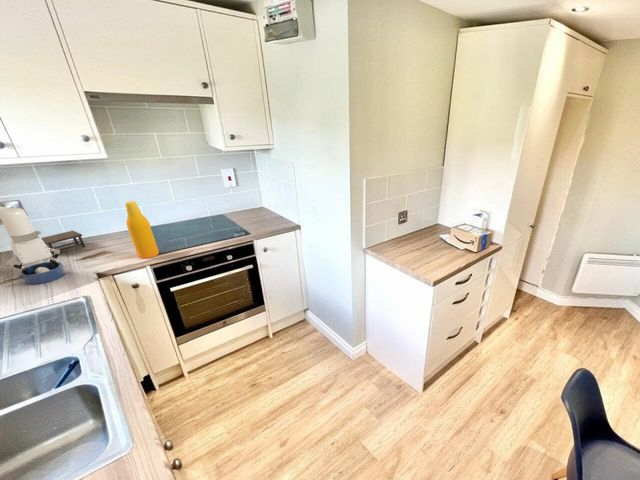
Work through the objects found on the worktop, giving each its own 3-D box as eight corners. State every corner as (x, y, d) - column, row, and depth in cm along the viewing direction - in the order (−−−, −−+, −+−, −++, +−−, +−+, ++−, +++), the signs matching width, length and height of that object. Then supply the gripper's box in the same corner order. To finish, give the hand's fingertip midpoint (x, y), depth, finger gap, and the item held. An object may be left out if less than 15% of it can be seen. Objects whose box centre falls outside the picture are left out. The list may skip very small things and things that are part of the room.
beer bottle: (134, 258, 168) (113, 204, 154) (146, 251, 176) (127, 199, 163) (152, 259, 168) (133, 205, 155) (163, 251, 177) (146, 200, 163)
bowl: (32, 287, 140) (26, 277, 138) (20, 279, 145) (14, 270, 143) (71, 275, 151) (66, 265, 148) (58, 268, 156) (53, 259, 154)
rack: (54, 259, 164) (46, 243, 160) (46, 254, 168) (37, 238, 164) (88, 249, 175) (81, 234, 171) (79, 245, 179) (72, 230, 175)
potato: (42, 280, 145) (38, 272, 142) (35, 276, 147) (31, 267, 145) (55, 276, 148) (51, 268, 146) (48, 272, 151) (44, 264, 149)
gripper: (47, 229, 147) (63, 262, 155) (-9, 241, 133) (12, 277, 141) (54, 232, 144) (71, 266, 152) (-2, 245, 130) (19, 282, 138)
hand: (42, 271), depth 147 cm, fingers open, 8 cm apart
